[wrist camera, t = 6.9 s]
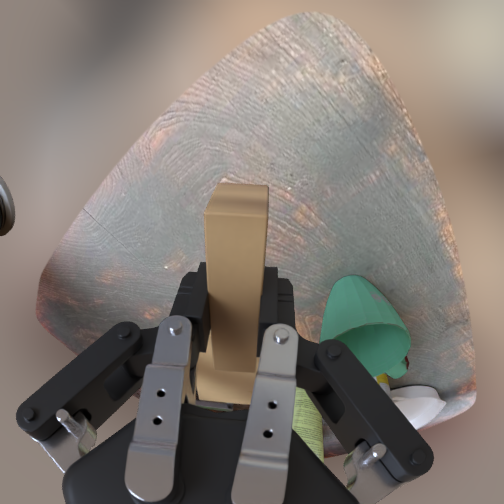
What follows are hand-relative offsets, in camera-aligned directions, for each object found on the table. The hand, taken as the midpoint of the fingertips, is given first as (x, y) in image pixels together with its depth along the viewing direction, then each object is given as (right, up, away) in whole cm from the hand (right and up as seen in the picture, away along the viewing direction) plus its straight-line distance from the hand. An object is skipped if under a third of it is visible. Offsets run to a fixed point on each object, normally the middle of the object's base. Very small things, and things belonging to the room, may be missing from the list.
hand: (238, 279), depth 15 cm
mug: (+15, -5, +22) cm, 27 cm away
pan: (+31, -33, +41) cm, 61 cm away
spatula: (0, -3, +3) cm, 4 cm away
